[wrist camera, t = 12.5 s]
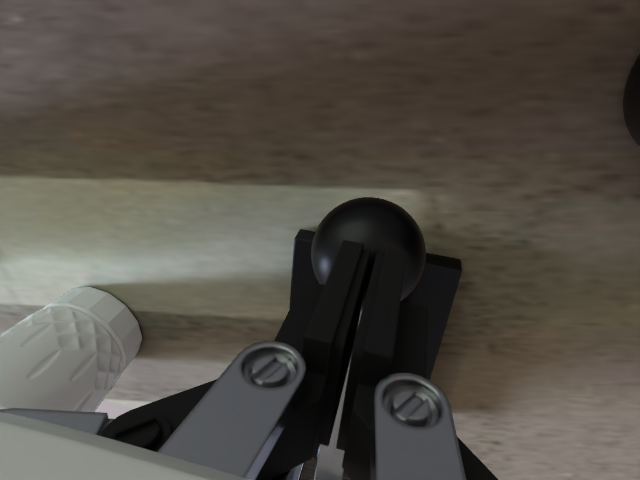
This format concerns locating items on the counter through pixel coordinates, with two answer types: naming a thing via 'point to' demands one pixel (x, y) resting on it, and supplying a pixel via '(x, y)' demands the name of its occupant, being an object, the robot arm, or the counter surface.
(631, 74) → the supplement bottle
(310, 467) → the tap lever
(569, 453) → the counter surface
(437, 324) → the black lever stand
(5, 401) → the white cup
